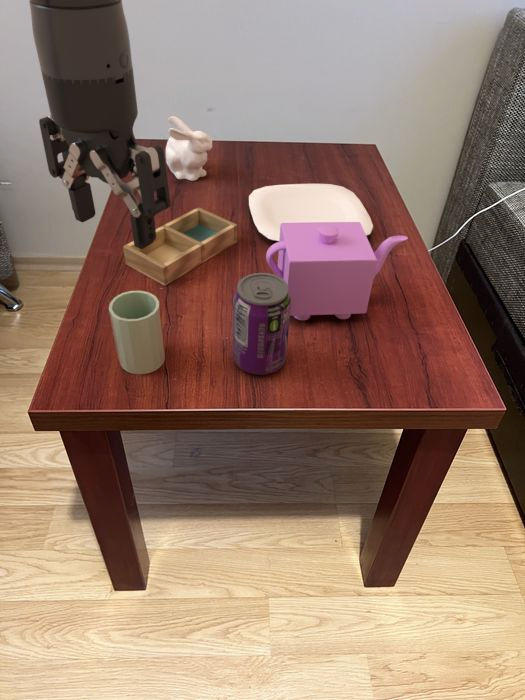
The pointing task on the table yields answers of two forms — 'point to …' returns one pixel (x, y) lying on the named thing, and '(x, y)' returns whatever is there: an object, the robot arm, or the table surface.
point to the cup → (138, 331)
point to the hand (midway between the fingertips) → (114, 231)
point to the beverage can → (261, 323)
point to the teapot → (328, 267)
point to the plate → (305, 207)
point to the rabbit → (186, 151)
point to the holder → (182, 245)
